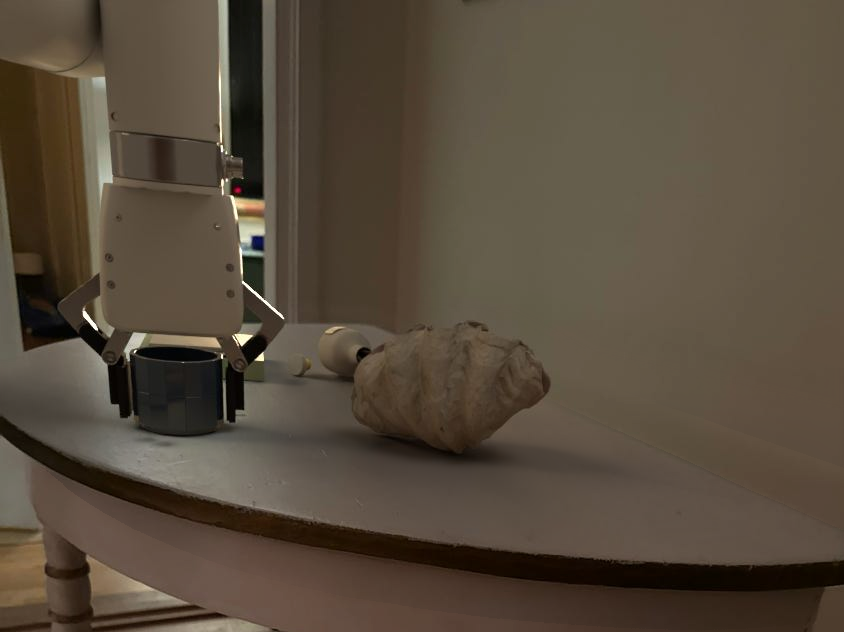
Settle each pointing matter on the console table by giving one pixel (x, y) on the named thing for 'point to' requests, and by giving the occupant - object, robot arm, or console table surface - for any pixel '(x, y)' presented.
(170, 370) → the cup
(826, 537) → the console table surface
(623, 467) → the console table surface
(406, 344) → the seashell
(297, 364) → the jar with stopper
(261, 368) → the scale
